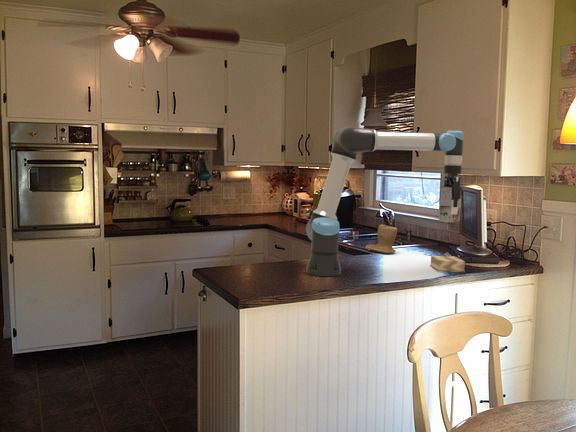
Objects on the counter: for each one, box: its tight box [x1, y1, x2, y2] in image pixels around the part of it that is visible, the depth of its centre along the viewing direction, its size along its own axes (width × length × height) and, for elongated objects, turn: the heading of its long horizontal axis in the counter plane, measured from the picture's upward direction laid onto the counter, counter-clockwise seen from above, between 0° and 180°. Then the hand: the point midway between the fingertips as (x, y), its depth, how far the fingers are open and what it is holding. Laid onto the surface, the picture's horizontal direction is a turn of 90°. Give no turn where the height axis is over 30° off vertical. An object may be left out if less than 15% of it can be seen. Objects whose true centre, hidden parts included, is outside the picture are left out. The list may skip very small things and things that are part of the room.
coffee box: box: [438, 185, 463, 223], centre depth 255 cm, size 9×6×16 cm
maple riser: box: [429, 255, 466, 273], centre depth 259 cm, size 12×12×5 cm
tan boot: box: [365, 224, 398, 254], centre depth 298 cm, size 15×12×15 cm
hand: (449, 212), depth 256 cm, fingers closed on coffee box, 10 cm apart
